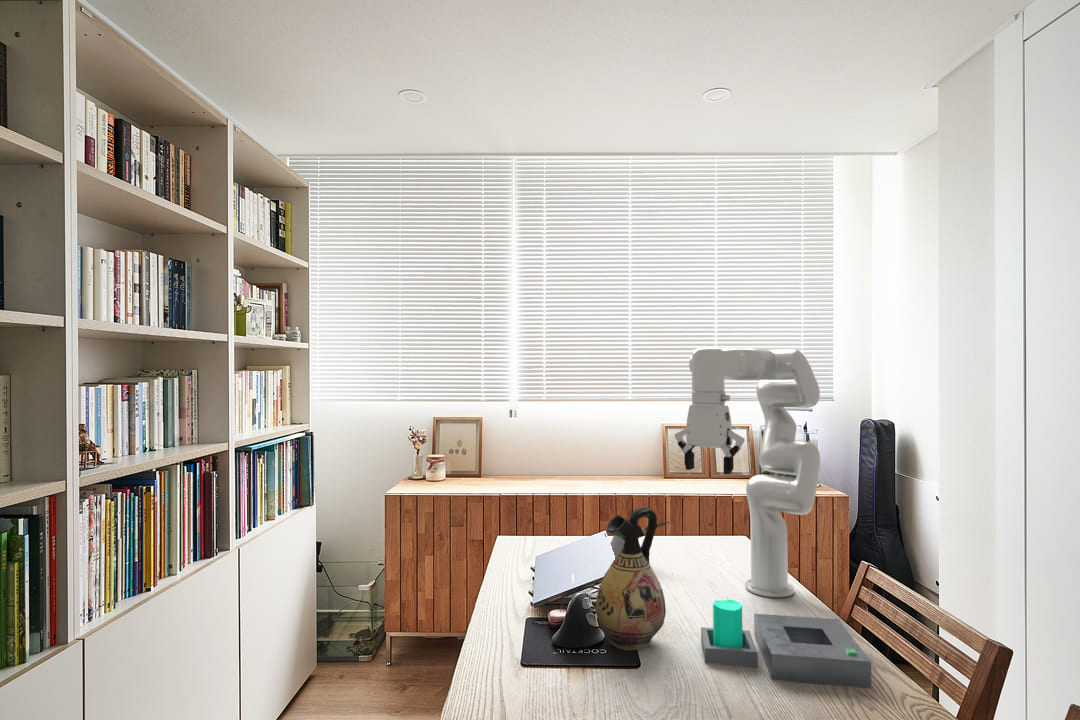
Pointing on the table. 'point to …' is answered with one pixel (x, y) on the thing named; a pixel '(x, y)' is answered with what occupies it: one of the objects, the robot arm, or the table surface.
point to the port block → (811, 651)
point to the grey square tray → (729, 650)
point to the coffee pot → (619, 542)
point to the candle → (727, 624)
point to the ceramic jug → (631, 587)
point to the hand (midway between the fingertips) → (708, 471)
